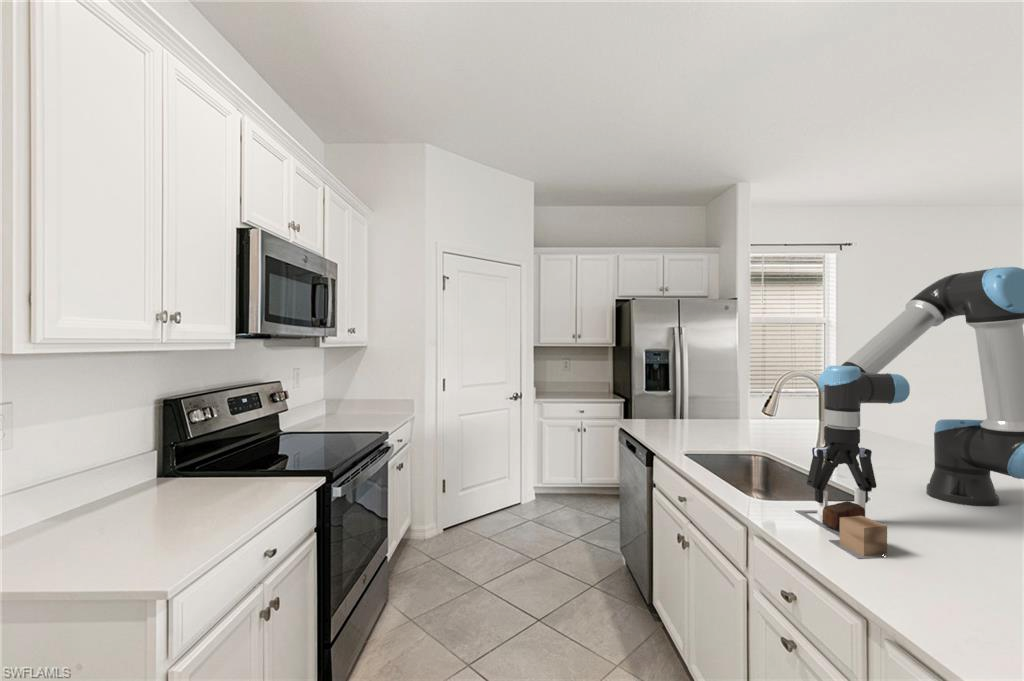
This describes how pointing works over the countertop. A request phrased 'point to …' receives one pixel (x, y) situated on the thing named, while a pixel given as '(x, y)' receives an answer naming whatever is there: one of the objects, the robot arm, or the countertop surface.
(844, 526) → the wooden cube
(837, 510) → the brick
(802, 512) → the frame
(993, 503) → the robot arm
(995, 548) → the countertop surface
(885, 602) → the countertop surface
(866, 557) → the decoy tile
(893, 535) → the countertop surface
